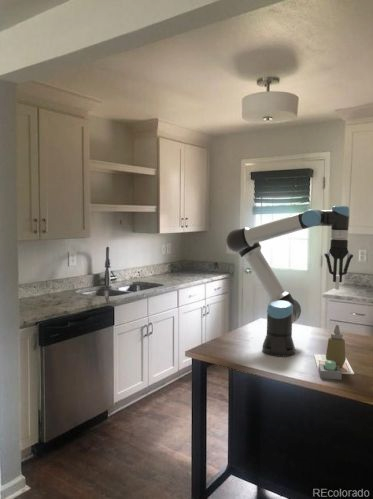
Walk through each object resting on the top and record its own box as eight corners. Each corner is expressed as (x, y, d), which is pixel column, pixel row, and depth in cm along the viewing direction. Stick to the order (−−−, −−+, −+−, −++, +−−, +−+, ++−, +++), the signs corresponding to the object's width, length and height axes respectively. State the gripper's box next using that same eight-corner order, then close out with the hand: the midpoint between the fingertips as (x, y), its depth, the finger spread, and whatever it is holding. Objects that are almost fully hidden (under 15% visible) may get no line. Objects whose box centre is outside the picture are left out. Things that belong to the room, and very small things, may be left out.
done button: (324, 375, 171) (325, 363, 170) (323, 371, 175) (324, 359, 175) (335, 376, 170) (336, 364, 170) (334, 372, 174) (334, 360, 174)
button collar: (320, 377, 169) (320, 370, 169) (318, 370, 177) (318, 363, 177) (341, 379, 168) (341, 372, 168) (338, 372, 176) (338, 365, 175)
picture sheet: (318, 371, 176) (318, 370, 176) (313, 355, 197) (313, 353, 197) (354, 374, 174) (354, 373, 173) (345, 357, 194) (345, 356, 194)
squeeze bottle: (341, 363, 185) (343, 322, 184) (348, 369, 177) (350, 327, 176) (322, 362, 185) (324, 322, 183) (329, 369, 177) (331, 327, 175)
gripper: (325, 239, 195) (323, 289, 197) (355, 240, 193) (353, 291, 195) (323, 238, 202) (321, 287, 204) (352, 239, 200) (350, 288, 202)
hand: (336, 288), depth 200 cm, fingers closed
